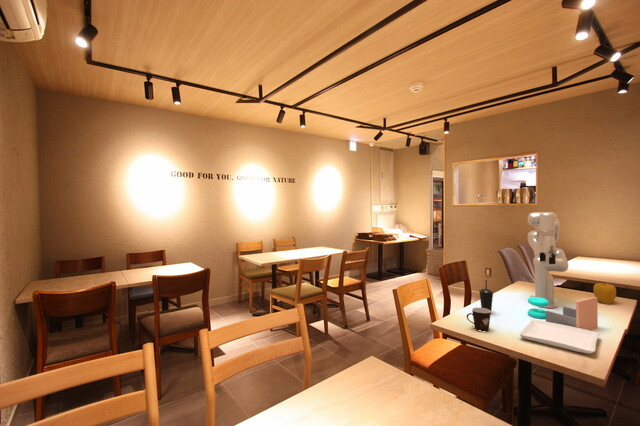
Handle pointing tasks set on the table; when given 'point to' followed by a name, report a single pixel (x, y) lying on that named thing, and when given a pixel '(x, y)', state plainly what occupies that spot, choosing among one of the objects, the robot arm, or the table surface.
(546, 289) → the robot arm
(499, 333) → the table surface
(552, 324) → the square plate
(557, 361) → the table surface
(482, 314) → the coffee mug
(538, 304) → the donuts
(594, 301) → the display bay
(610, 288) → the apple
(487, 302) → the drinking cup
